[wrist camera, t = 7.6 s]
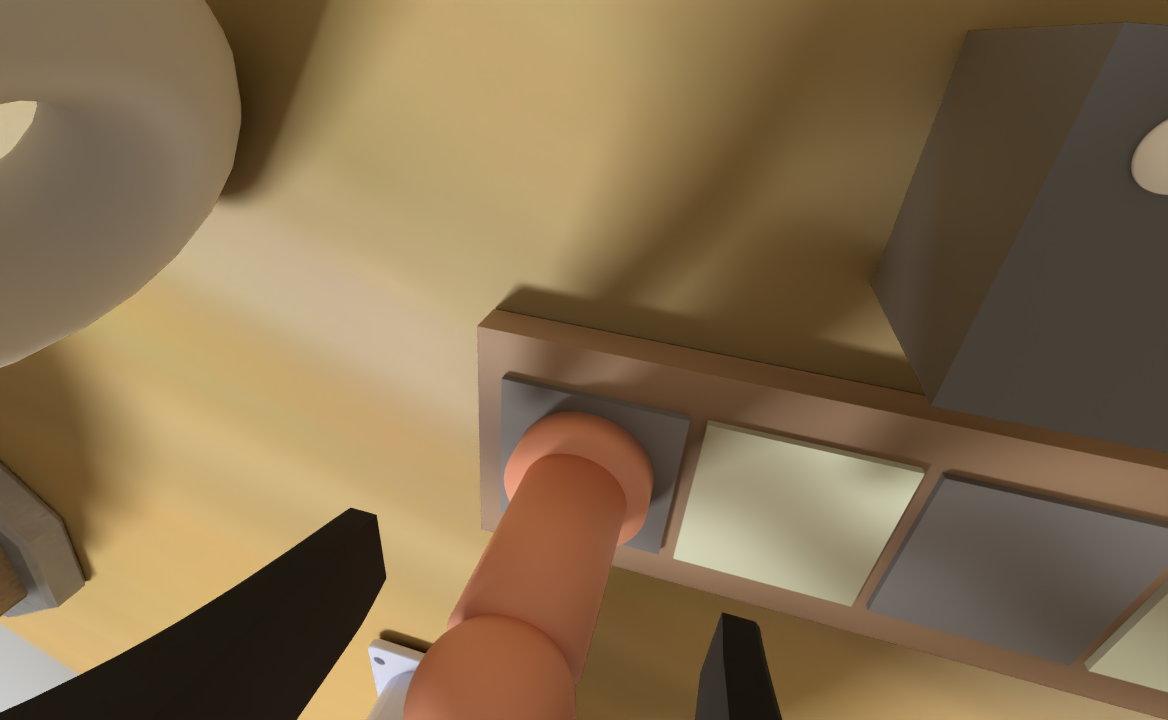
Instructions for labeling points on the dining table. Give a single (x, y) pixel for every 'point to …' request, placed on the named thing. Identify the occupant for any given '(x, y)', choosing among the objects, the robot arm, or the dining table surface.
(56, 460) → the dining table surface
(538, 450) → the pawn
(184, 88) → the donut
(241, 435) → the dining table surface
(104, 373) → the dining table surface
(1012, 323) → the die
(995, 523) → the track board
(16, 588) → the tankard
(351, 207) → the dining table surface
